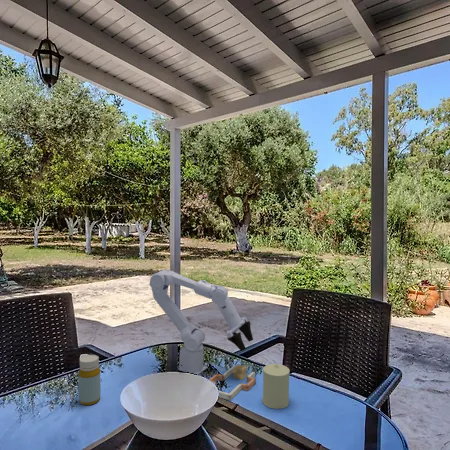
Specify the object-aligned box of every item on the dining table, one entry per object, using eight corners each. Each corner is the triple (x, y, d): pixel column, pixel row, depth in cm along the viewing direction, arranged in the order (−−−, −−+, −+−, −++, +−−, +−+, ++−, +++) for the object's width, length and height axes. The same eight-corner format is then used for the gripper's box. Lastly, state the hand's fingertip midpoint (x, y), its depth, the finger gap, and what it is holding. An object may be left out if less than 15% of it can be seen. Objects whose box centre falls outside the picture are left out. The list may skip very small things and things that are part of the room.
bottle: (104, 398, 131) (104, 356, 130) (89, 408, 124) (89, 364, 123) (89, 393, 134) (89, 352, 133) (74, 403, 127) (73, 360, 126)
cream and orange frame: (200, 391, 136) (200, 386, 136) (227, 369, 154) (227, 365, 154) (236, 402, 129) (236, 397, 129) (260, 378, 147) (260, 373, 146)
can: (288, 395, 134) (288, 363, 133) (290, 409, 125) (290, 375, 124) (262, 394, 135) (262, 361, 134) (262, 408, 125) (263, 373, 125)
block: (233, 377, 147) (233, 368, 147) (237, 373, 150) (238, 364, 150) (242, 380, 145) (242, 370, 145) (246, 376, 148) (246, 366, 148)
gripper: (230, 319, 140) (247, 351, 140) (245, 304, 153) (261, 333, 152) (216, 325, 144) (233, 356, 143) (232, 310, 156) (248, 338, 156)
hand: (247, 345), depth 148 cm, fingers open, 7 cm apart
